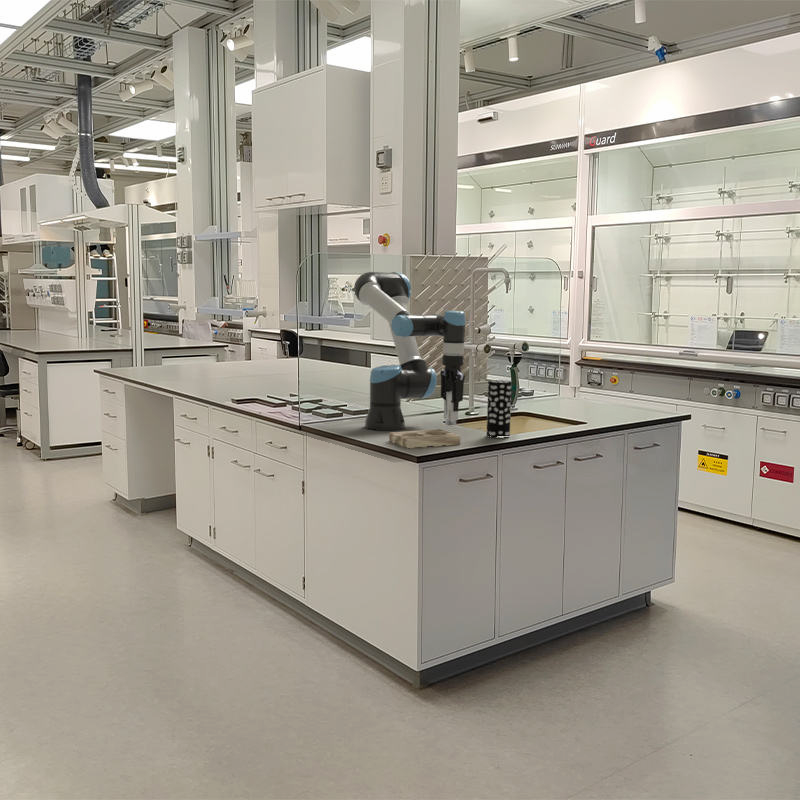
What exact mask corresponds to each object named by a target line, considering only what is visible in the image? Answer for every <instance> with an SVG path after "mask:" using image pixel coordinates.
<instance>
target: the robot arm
mask: <svg viewBox="0 0 800 800" xmlns="http://www.w3.org/2000/svg"><path fill="white" fill-rule="evenodd" d="M411 285H412V284H411V282H410V279H409V278H408V277H407V276H406V275H405V274H403V273H401V272H396V271H393V272H381V271H369V272H364V273H363V274H360V275H359V276H358V278H357V279H356V280H355V282H354V285H353V292H354V296H355V297H356V299H357V300H358V301H359V302H360V303H362V304H363V305H365V306H369V307H370V308H372V309H373V310H374V311H375V312H376V313H378V315H379V316H381V317H382V318H384V320H385V321H387V322H388V324H389V325H388V326H389V328H390V333H391V337H392V339H393V340H392V341H393V343H394V347H395V351H396V354H397V359H398V361H399V364H391V365H389V364H387V365H381V366H377V367H374V368H372V369H371V371H370V377H369V409H368V412H367V415H366V418H365V421H364V428H366V429H368V428H370V429H369V430H373V429H376V431H396V430H397V431H398V430H403V429H405V426H406V423H405V418H404V415H403V412H402V411H403V410H402V408H401V400H405V399H406V400H410V399H423V398H429V397H430V396H432V395H433V394H434V392H435V391H436V386H437V382H438V381H437V380H438V378H437V377H438V376H437V372H436V370H435V369H433V367H431V366H430V367H429V366H428V364H427V361H426V360H425V359H424V358H422V357H421V354H420V350H419V346H418V344H417V340H416V337H442V338H443V340H442V341H443V342H442V353H443V355H442V365H443V366H445V368H444V370H443V369H441V370H440V372H439V373H440V397H441V398H443V399H442V400H444V401H443V418H444V419H445V410H446V391H452V401H451V414H450V420H456V421H458V420H459V409H460V408H459V407H460V406H459V405H460V402H463V401H464V400H463V399H464V398H463V397H464V385H465V377H466V374H465V373H462V371H461V367H463V365H464V353H465V339H466V338H465V334H466V314H465V312H464V311H460V310H459V311H458V310H446V311H444V314H443V315H441V314H427V315H423V314H412V313H410V311H408V307H407V305H408V303H409V300H410V298H411V296H412V292H411V291H412V286H411Z"/></svg>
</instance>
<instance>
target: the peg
mask: <svg viewBox="0 0 800 800" xmlns="http://www.w3.org/2000/svg"><path fill="white" fill-rule="evenodd" d="M451 401H452V391H446V410H445V418H444V425H445V426H453V427H454V426H456V425H457V420H450V414H451Z"/></svg>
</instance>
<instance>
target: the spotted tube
mask: <svg viewBox="0 0 800 800" xmlns="http://www.w3.org/2000/svg"><path fill="white" fill-rule="evenodd" d="M512 385H513V384H512V381H511V380H503V379H502V380H500V379H496V380H494V379H493V380H488V383H487V386H488V387H487V408H486V409H487V412H486V437H487V436H489V437H488V438H490V436H491V437H497V436H510V435H511V410H512V408H511V406H512V405H511V404H512ZM510 437H511V436H510Z"/></svg>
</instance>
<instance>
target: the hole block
mask: <svg viewBox="0 0 800 800" xmlns="http://www.w3.org/2000/svg"><path fill="white" fill-rule="evenodd" d="M388 437H389V438H388V439H389V442H390V441H391V442H390V443H392V442H394V443H393V444H395V443H396V445H398V444H399V445H398V446H400V445H401V447H403V446H404V447H403V448H405V447H407V448H406V449H408V448H410V449H415V448H414V447H422V448H428V447H427V446H434V447H443V446H442V445H446V446H456V445H461V435H459V434H456V433H453V432H450V431H448V430H444V429H440V428H437V429H425V430H423V429H421V430H410V431H409V430H407V431H394V432H393V431H392V432H389V436H388Z"/></svg>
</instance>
